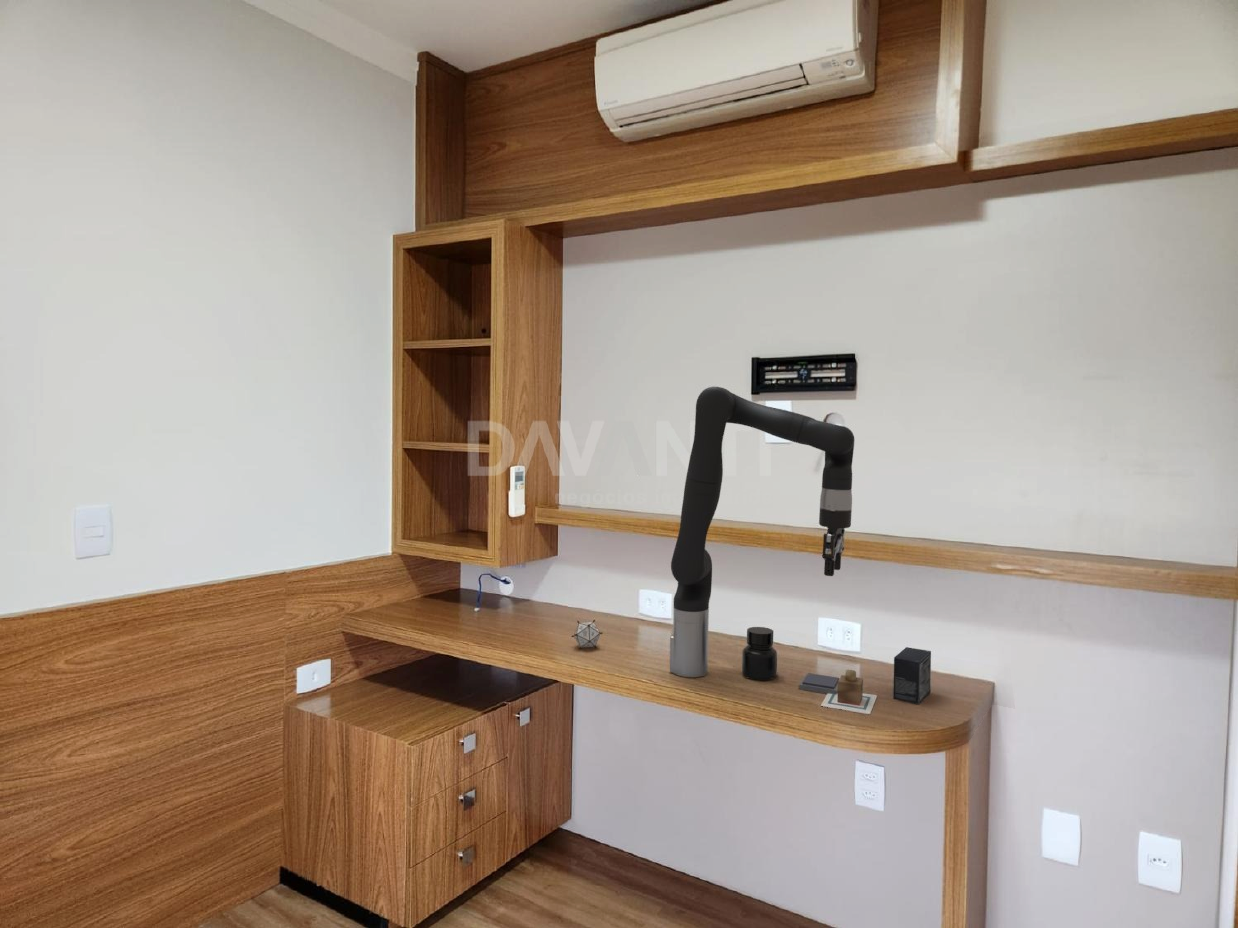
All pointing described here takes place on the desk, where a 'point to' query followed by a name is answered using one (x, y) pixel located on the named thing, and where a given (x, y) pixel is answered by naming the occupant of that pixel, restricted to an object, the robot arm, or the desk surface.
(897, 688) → the small box
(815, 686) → the ink pad
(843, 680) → the stamp
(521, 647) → the desk surface
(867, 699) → the sheet
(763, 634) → the ink bottle
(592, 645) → the game die
